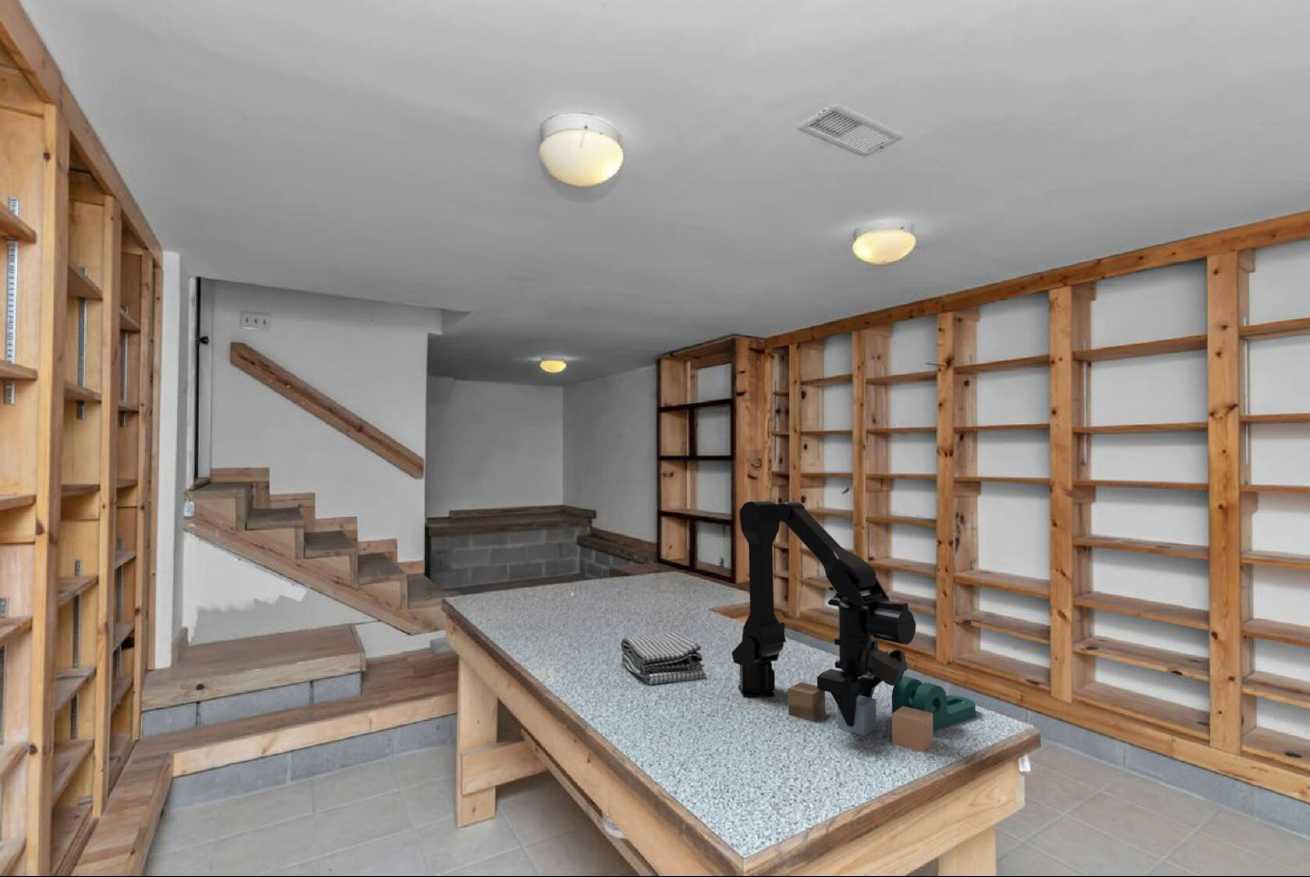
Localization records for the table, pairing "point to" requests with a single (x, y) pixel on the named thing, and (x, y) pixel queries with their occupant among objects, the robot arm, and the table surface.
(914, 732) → the terracotta cube
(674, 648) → the towel
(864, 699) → the blue cube
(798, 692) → the walnut cube
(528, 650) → the table surface
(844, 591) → the robot arm
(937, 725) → the bracket
